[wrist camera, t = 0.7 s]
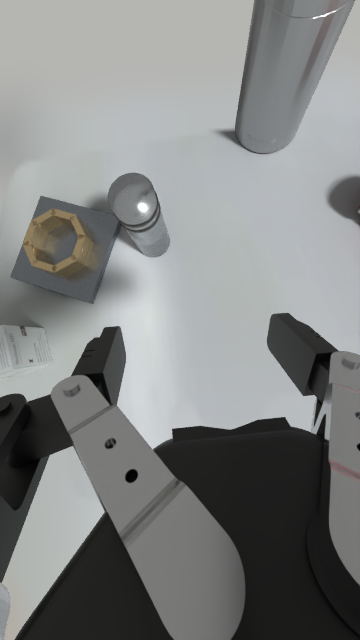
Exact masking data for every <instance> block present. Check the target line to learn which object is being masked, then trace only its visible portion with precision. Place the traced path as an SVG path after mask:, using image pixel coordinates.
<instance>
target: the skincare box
mask: <svg viewBox="0 0 360 640" xmlns="http://www.w3.org/2000/svg"><path fill="white" fill-rule="evenodd" d="M51 364H53V361H52V358H51V355H50V351H49V347H48V343H47V339H46V334H45V330H44V328H39V327H27V326H15V325H0V380H1V379H7V378H13V377H19V376H22V375H24V374H27V373H30V372H32V371H35V370H38V369H40V368H43V367H46V366H48V365H51Z"/></svg>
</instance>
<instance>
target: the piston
mask: <svg viewBox="0 0 360 640" xmlns="http://www.w3.org/2000/svg"><path fill="white" fill-rule="evenodd" d="M108 203H109V206H110V208H111V209H112V211H113V213H114V215H115V217H116V218H117V219H118V221H119V222H120V224H121V225H122V226H123V227H124V228H125V229H126V231H127V232H128V234H129V235H130V237H131V238H132V240H133V241H134V242H135V244H136V245H137V247H138V248H139V250H140V251H141V252H142V253H143V254H144V255H145V256H148V257H158V256H161V255H162V254H164V253H165V252H166V251H167V249H168V247H169V244H170V238H169V235H168V231H167V228H166V225H165V222H164V219H163V216H162V213H161V208H160V204H159V201H158V197H157V194H156V192H155V190H154V188H153V185H152V183H151V182H150V180H149V179H148V178H147V177H145V176H144V175H142V174H138V173H128V174H124V175H122V176H120V177H119V178H117V179H116V180H115V181H114V182H113V184H112V185H111V187H110V189H109V192H108Z"/></svg>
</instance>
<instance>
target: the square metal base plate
mask: <svg viewBox="0 0 360 640" xmlns="http://www.w3.org/2000/svg"><path fill="white" fill-rule="evenodd" d="M120 225H121V224H120V222H119V221H118V219H117V218H116V217H115V215H112V214H108V213H104V212H100V211H97V210H93V209H89V208H85V207H82V206H78V205H74V204H70V203H66V202H63V201H59V200H55V199H51V198H47V197H44V196H41V197H40V199H39V202H38V205H37V207H36V210H35V213H34V215H33V218H32V220H31V223H30V225H29V228H28V231H27V233H26V236H25V239H24V241H23V245H22V247H21V250H20V253H19V255H18V258H17V261H16V263H15V266H14V269H13V271H12V274H11V278H14V279H17V280H20V281H24V282H27V283H30V284H33V285H36V286H39V287H42V288H45V289H48V290H51V291H54V292H58V293H61V294H64V295H67V296H70V297H73V298H76V299H79V300H82V301H85V302H88V303H92V304H93V303H94V300H95V297H96V294H97V291H98V288H99V285H100V283H101V280H102V277H103V274H104V271H105V268H106V265H107V263H108V260H109V257H110V254H111V251H112V248H113V245H114V243H115V240H116V237H117V234H118V231H119V228H120Z"/></svg>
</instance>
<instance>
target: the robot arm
mask: <svg viewBox="0 0 360 640" xmlns="http://www.w3.org/2000/svg"><path fill="white" fill-rule="evenodd" d="M354 2H355V0H254V6H253V13H252V19H251V26H250V32H249V39H248V46H247V52H246V59H245V65H244V72H243V78H242V85H241V92H240V98H239V105H238V111H237V117H236V125H235V131H236V135H237V138H238V140H239V141H240V143H241V144H242V145H243V146H244V147H245V148H247V149H249V150H251V151H253V152H257V153H272V152H275V151H278V150H280V149H282V148H284V147H285V146H286V145H288V144H289V143H290V141H291V140H292V139H293V137H294V135H295V134H296V131H297V129H298V127H299V125H300V123H301V120H302V118H303V116H304V114H305V111H306V109H307V107H308V105H309V103H310V101H311V98H312V96H313V94H314V92H315V89H316V87H317V85H318V83H319V80H320V78H321V76H322V74H323V71H324V69H325V66H326V65H327V62H328V60H329V58H330V56H331V53H332V51H333V49H334V47H335V44H336V42H337V40H338V38H339V36H340V33H341V31H342V29H343V26H344V24H345V22H346V20H347V18H348V16H349V13H350V11H351V9H352V7H353V4H354ZM267 345H268V348H269V350H270V352H271V353H272V354H273V356H274V357H275V358H276V360H277V361H278V362H279V364H280V365H281V366H282V368H283V369H284V370H285V372H286V373H287V375H288V376H289V377H290V379H291V380H292V381H293V383H294V384H295V385H296V387H297V388H298V389H299V391H300V392H301V394H302V395H303V396H308V395H315V396H316V397H317V398H316V401H315V404H314V412H313V419H312V427H311V432H309V431H305V430H303V429H299V428H295V427H290V425H289V423H288V422H287V420H286V418H285V417H281V418H272V419H262V420H256V421H254V422H251V423H249V424H246V425H243V426H241V427H238V428H236V429H232V430H227V429H220V428H212V427H204V426H195V427H186V428H176V429H172V431H173V433H172V434H173V438H172V439H170V440H167V441H165V442H163V443H162V444H160V445H158V446H157V447H156V448H154V449H153V450H152V448H151V447H150V446H149V445H148V443H147V442H146V441H145V440H144V438H143V437H142V436H141V435H140V434H139V432H138V431H137V430H136V429H135V427H134V426H133V425H132V424H131V422H130V421H129V420H128V419H127V418H126V416H125V415H124V414H123V413H122V411H121V410H120V409H119V408H118V406H117V401H118V396H119V391H120V387H121V382H122V377H123V373H124V368H125V363H126V352H125V347H124V342H123V337H122V332H121V328H120V326H116V327H105V328H104V329H103V332H102V334H101V336H100V337H97V338H94V339H93V340H91V341H90V342H89V343H88V344H87V346H86V348H85V350H84V352H83V354H82V356H81V358H80V360H79V362H78V364H77V365H76V367H75V369H74V371H73V373H72V375H71V377H68V378H66V379H64V380H62V381H61V382H59V383H58V384H57V385H56V386H55V387H54V388H53V390H52V392H51V394H50V395H47V396H44V397H41V398H38V399H35V400H32V401H29V402H27V400H26V398H25V397H24V396H23V395H21V394H10V395H6V396H3V397H1V398H0V640H4V636H5V629H6V624H7V620H8V616H9V610H10V595H9V592H8V590H7V588H6V587H5V586H4V585H3V584H2V581H3V578H4V575H5V573H6V570H7V567H8V565H9V562H10V559H11V557H12V554H13V551H14V548H15V546H16V543H17V541H18V538H19V535H20V533H21V530H22V527H23V525H24V522H25V519H26V517H27V514H28V511H29V509H30V505H31V503H32V501H33V498H34V495H35V493H36V490H37V487H38V485H39V482H40V479H41V476H42V474H43V471H44V469H45V466H46V463H47V461H48V458H49V455H50V454H53V453H55V452H58V451H61V450H63V449H66V448H68V447H71V446H74V449H75V451H76V453H77V455H78V457H79V459H80V461H81V463H82V465H83V467H84V469H85V471H86V473H87V475H88V477H89V480H90V482H91V484H92V486H93V488H94V490H95V492H96V494H97V496H98V499H99V501H100V503H101V505H102V507H103V509H104V511H105V513H104V514H103V516H102V517H101V518H100V520H99V521H98V523H97V524H96V526H95V527H94V528H93V530H92V531H91V532H90V534H89V535H88V536H87V538H86V539H85V541H84V542H83V543H82V545H81V546H80V548H79V549H78V550H77V552H76V553H75V555H74V556H73V558H72V559H71V560H70V562H69V563H68V565H67V566H66V567H65V569H64V570H63V571H62V573H61V574H60V576H59V577H58V578H57V580H56V581H55V583H54V584H53V585H52V587H51V588H50V590H49V591H48V592H47V594H46V595H45V596H44V598H43V599H42V601H41V602H40V604H39V605H38V606H37V608H36V609H35V610H34V612H33V613H32V615H31V616H30V617H29V619H28V621H26V623H25V624H24V626H23V627H22V629H21V630H20V632H19V633H18V635H17V637H16V639H15V640H360V355H358V354H355V353H351V352H346V351H338V350H337V349H336V348H335V347H333V346H332V345H331V344H330V343H329V342H327V341H326V340H325V339H324V338H323V337H321V336H320V335H319V334H318V333H317V332H315V331H314V330H313V329H312V328H311V327H309V326H308V325H306V324H304V323H302V322H300V321H297V320H296V319H295V318H294V317H293V316H291V315H290V314H289V313H279V314H273V315H272V316H271V319H270V325H269V331H268V337H267Z"/></svg>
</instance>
